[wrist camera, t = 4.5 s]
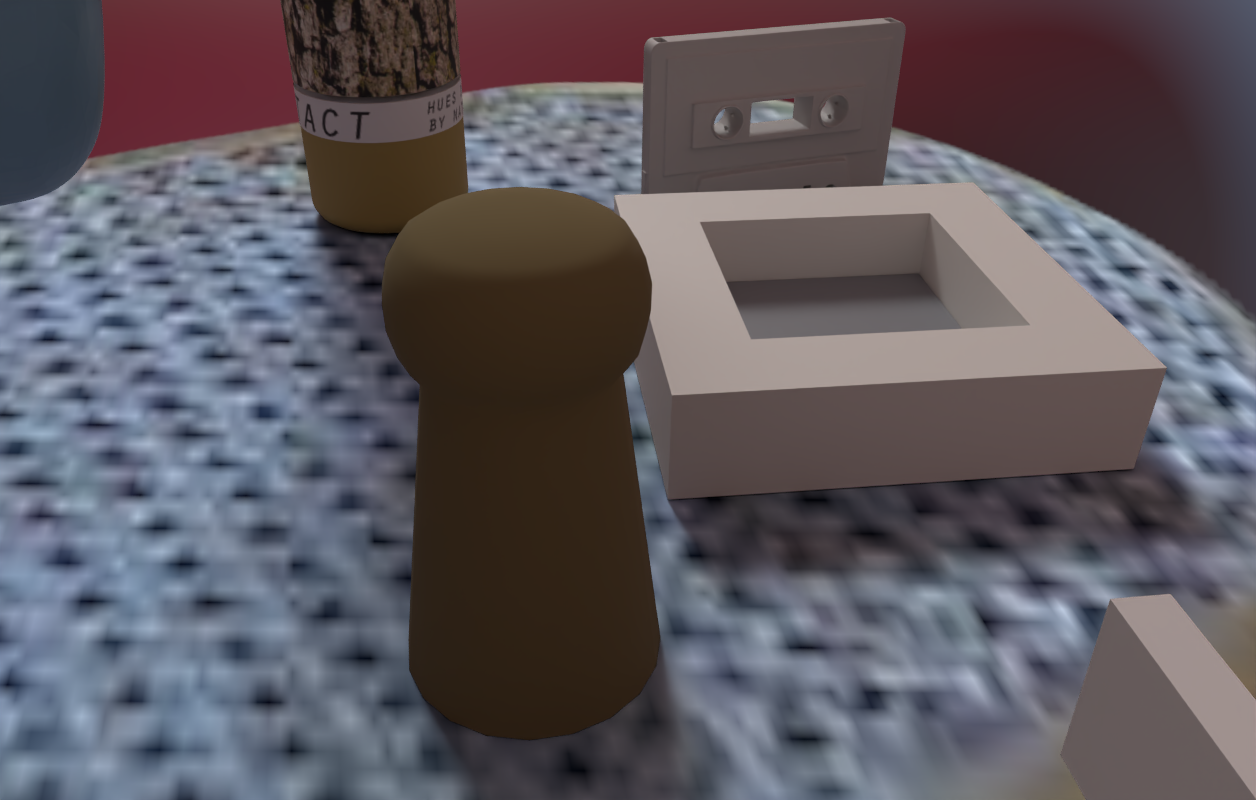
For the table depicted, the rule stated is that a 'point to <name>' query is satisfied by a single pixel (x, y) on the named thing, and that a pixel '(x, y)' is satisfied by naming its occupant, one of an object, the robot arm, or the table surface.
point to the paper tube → (378, 107)
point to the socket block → (873, 344)
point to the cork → (524, 459)
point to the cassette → (762, 71)
